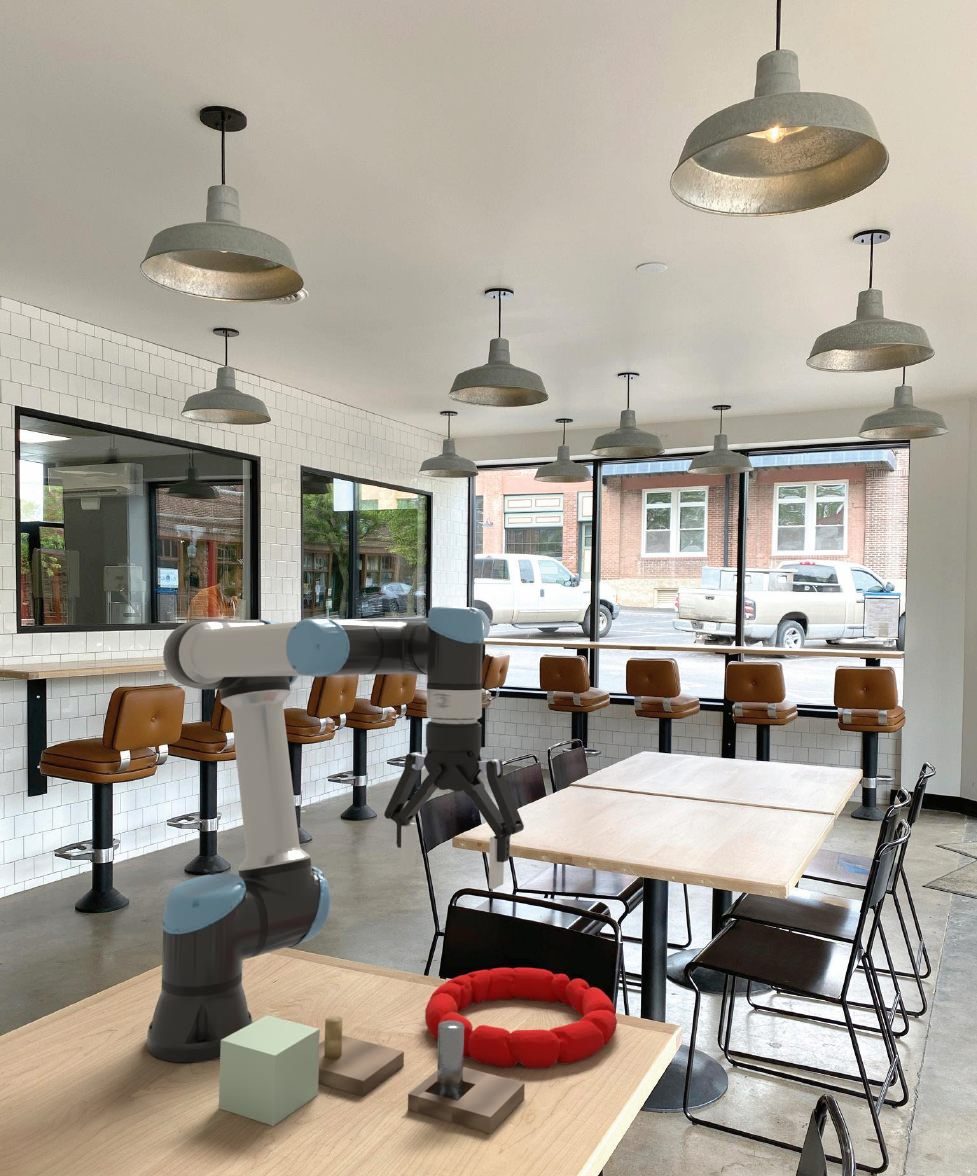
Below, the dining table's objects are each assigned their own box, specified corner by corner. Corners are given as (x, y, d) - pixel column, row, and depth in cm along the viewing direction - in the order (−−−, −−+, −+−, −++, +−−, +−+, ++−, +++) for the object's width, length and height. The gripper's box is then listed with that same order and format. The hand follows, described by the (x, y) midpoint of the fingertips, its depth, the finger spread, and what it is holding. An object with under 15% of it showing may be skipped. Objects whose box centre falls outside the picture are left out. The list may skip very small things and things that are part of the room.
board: (291, 1075, 129) (293, 1023, 129) (335, 1047, 137) (336, 999, 138) (363, 1096, 123) (364, 1042, 123) (403, 1065, 132) (404, 1015, 132)
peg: (431, 1105, 121) (433, 1026, 122) (447, 1094, 124) (448, 1018, 124) (452, 1113, 119) (453, 1033, 120) (467, 1102, 122) (469, 1024, 123)
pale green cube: (218, 1108, 119) (220, 1040, 120) (265, 1078, 127) (267, 1015, 128) (273, 1126, 115) (275, 1055, 116) (318, 1094, 123) (319, 1028, 124)
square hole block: (407, 1109, 120) (408, 1093, 120) (446, 1077, 129) (446, 1062, 129) (490, 1133, 114) (490, 1117, 114) (524, 1098, 123) (524, 1083, 123)
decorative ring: (609, 1051, 128) (622, 958, 157) (400, 1029, 134) (450, 943, 163) (609, 1102, 128) (622, 999, 157) (401, 1077, 134) (450, 983, 164)
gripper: (361, 717, 128) (358, 873, 127) (525, 728, 116) (523, 899, 115) (391, 713, 134) (388, 861, 133) (549, 723, 123) (547, 885, 122)
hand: (451, 879), depth 124 cm, fingers open, 13 cm apart
